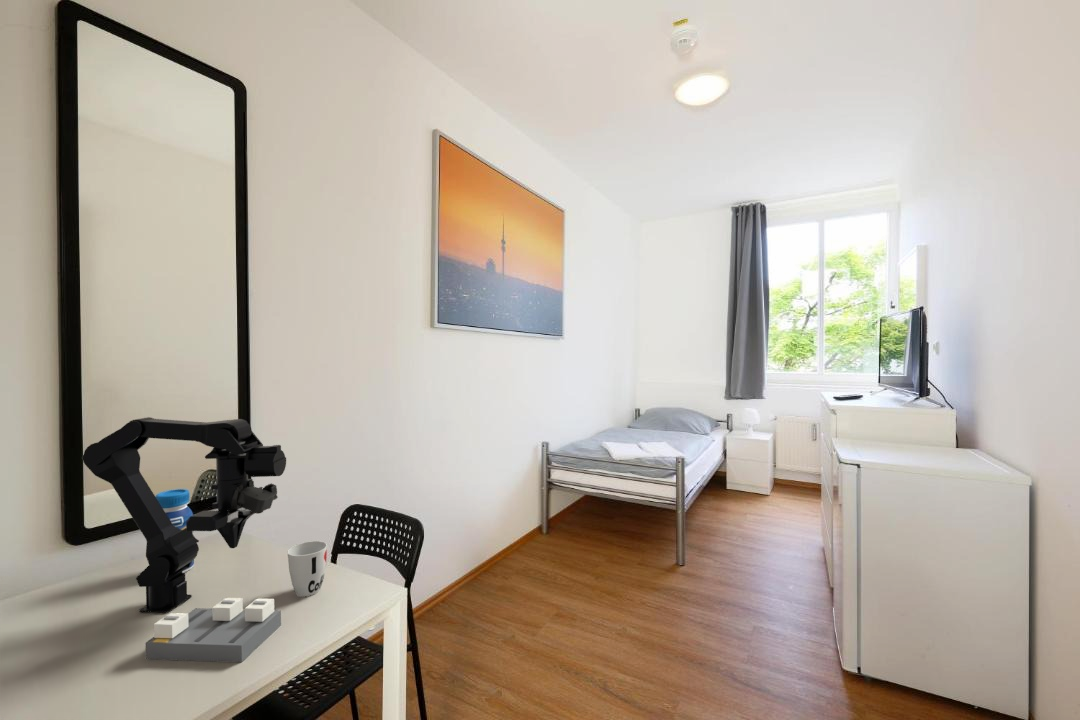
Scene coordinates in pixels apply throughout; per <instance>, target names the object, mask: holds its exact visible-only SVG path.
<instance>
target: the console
mask: <svg viewBox="0 0 1080 720" xmlns="http://www.w3.org/2000/svg"><path fill="white" fill-rule="evenodd" d="M212 608H213V607H212ZM212 608H209V607H207V608H206V607H205V608H204V607H201V608H200V607H197V608H196V607H195V608H194V609H191V611H190V612H188V613H187V614H188V623H189V627H187V628H186V629H185V630H183V631H182V632H181V633H179V634H178V635H176V636H175V637H174V638H154V636H153V637H152V638H150V639H149V640H147V641H146V642H145V660H158V661H159V660H161V661H162V660H164V661H165V660H166V661H187V662H188V661H190V662H191V661H193V662H197V661H198V662H220V663H221V662H223V663H225V662H227V663H243V662H244V661H245V660H246V659H247V658H248V657H249V656H250V655H251V654H252V653H253V652H254V651H256V649H257V648H258V647H260V646H261V645H262V644H263V643H264V642H265V641H267V639H268V638H269V637H270V636H271V635H272V634H273V633H275V631H276V630H278V628H280V627H281V626H282V610H281V609H274V612H273V613H272V614H271V615H270V616H268V617H267V618H266V619H265V620H264V621H263V622H256V621H245V608H243V611H242V612H241V613H239V614H238V615H237V616H236V617H234V618H233V619H232V620H231V621H215V620H213V612H212Z"/></svg>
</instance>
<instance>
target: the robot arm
mask: <svg viewBox="0 0 1080 720" xmlns="http://www.w3.org/2000/svg"><path fill="white" fill-rule="evenodd" d="M150 439H158V440H159V439H160V440H175V441H187V442H189V441H190V442H196V443H197V442H198V443H201V444H203V445H204V446H207V447H211V448H212V449H211V450H210V452H209V453H207V454H205V456H204V458H205V460H209V459H214V460H215V464H216V470H215V471H216V474H215V475H216V476H215V477H216V483H213V484H211V491H212V490H215V491H216V502H213V503H211V509H217V510H202V511H199V512H197V513H195V514H193V516H190V517H189V518H188V519H187V521H186V528H185V529H183V530H181V529H179V528H177V527H175V526H174V525H173V524H172V523H171V521H170V519H169V518H168V516H167V515H166V513H165V511H164V510H163V508H162V507H161V505H160V503H159V502H158V500H157V499H156V497H155V496H156V495H155V493H154V492H153V490H152V489H151V487H150V486H149V484H148V483H147V481H146V479H145V478H144V476H143V475H142V473H141V471H140V467H141V455H140V453H139V449H142V448H143V446H145V445H146V444H147V442H148V441H149V440H150ZM81 459H82V462H83V463H84V465H85V467H86V468H87V469H88V470H90V471H91V473H92V474H93V475H94V476H95V477H97V478H100V479H101V480H103V481H105V482H107V483H109V484H110V485H111V486H112V487H113V489H114V491H115V493H116V494H117V496H118V497H119V498H120V500H121V502H122V504H123V505H124V507H125V508H126V510H127V511H128V513H129V515H130V516H131V517H132V519H133V521H134V522H135V524H136V526H137V528H139V529H138V530H140V532H141V534H142V535H143V537H144V538H145V541H146V548H145V557H146V560H147V563H148V565H147V566H146V567H145V568H144V569H143V570H142V571H141V572H140V573H139V574H138V575H137V576H136V577H135V580H136V582H137V584H138V587H141V588H143V587H144V588H145V601H146V602H145V603H146V605H145V606H143V607H140V609H138V610H139V611H138V612H139V613H152V614H153V613H158V614H160V613H161V614H164V613H165V614H166V613H167V614H168V613H169V612H171V611H172V610H174V609H176V608H177V607H179V606H180V605H182V604H184V603H185V602H186V601H188V600H190V599H191V598H192V594H188V584H187V583H188V581H187V580H186V572H184V573H182V571H184V570H185V569H187V568H189V567H190V566H191V563H192V561H193V560H194V561H195V559H197V556H198V553H199V550H200V548H199V547H200V546H199V544H198V543H199V542H200V540H199V539H198V538H196V537H195V536H194V532H214V531H217V532H218V533H219V534H220V535H221V537H222V539H223V540H224V541H225V542H226V543H225V544H226V545H227V546H228V548H229V549H235V548H237V547H238V545H239V542H240V539H241V536H242V533H243V530H244V527H245V526H246V522H247V521H248V520H249V519H251V517H252V516H253V515H255V514H262V513H264V512H265V511H266V510H269V509H271V508H272V504H273V502H274V501H275V500H277V499H278V498H279V497H278V488H277V485H276V484H274V483H268V484H267V485H265V486H264V487H262V486H259V487H257V486H255V483H254V480H253V479H252V478H258V477H259V478H264V477H265V478H266V477H280V476H282V475H283V474H284V472H285V470H286V467H287V457H286V455H285V453H284V451H283V450H282V445H281V444H274V445H264V444H263V443H262V441H261V440H260V439H259V438H258V437H257V435H256V434H255V433H254V432H253V431H252V426H251V425H250V424H249V423H248V421H247V420H245V419H242V418H236V419H224V420H217V421H208V422H205V421H204V422H203V421H190V420H189V421H188V420H177V419H163V418H161V419H160V418H153V417H149V416H147V417H142V418H137V419H132V420H130V421H128V422H127V423H126V424H124V425H123V426H122V427H121V428H119V429H117V430H116V431H115V430H114V432H112V433H109V435H107V436H105V437H103V438H102V439H101V440H99V441H98V442H97V441H96V442H94V443H91V444H90V445H88V446H87V447H86V449H85V450H84V453H83V454H82V457H81ZM249 477H251V478H249ZM192 531H193V533H192Z"/></svg>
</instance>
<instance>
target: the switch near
mask: <svg viewBox="0 0 1080 720" xmlns="http://www.w3.org/2000/svg"><path fill="white" fill-rule="evenodd" d="M187 627H189V623H188V613H186V612H185V613H182V612H181V613H177V612H170V613H168V614H167V615H165V616H164V617H162V618H161V619H159V620H158V621H157V622H155V623H153V637H154V638H174V637H175V636H176V635H178V634H179V633H181V632H182V631H183V630H185V629H186V628H187Z"/></svg>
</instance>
